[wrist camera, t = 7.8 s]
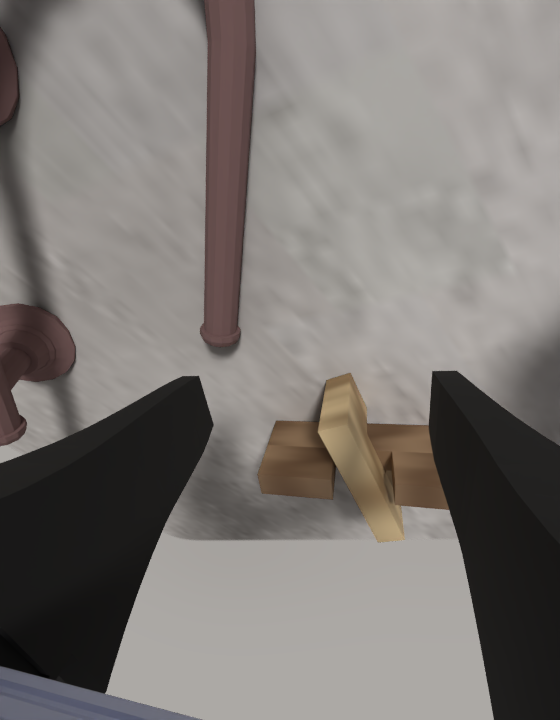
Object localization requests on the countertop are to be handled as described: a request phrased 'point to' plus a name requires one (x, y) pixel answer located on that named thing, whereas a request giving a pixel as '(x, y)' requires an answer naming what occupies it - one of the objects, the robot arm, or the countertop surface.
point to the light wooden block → (359, 457)
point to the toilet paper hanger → (222, 221)
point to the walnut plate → (317, 469)
